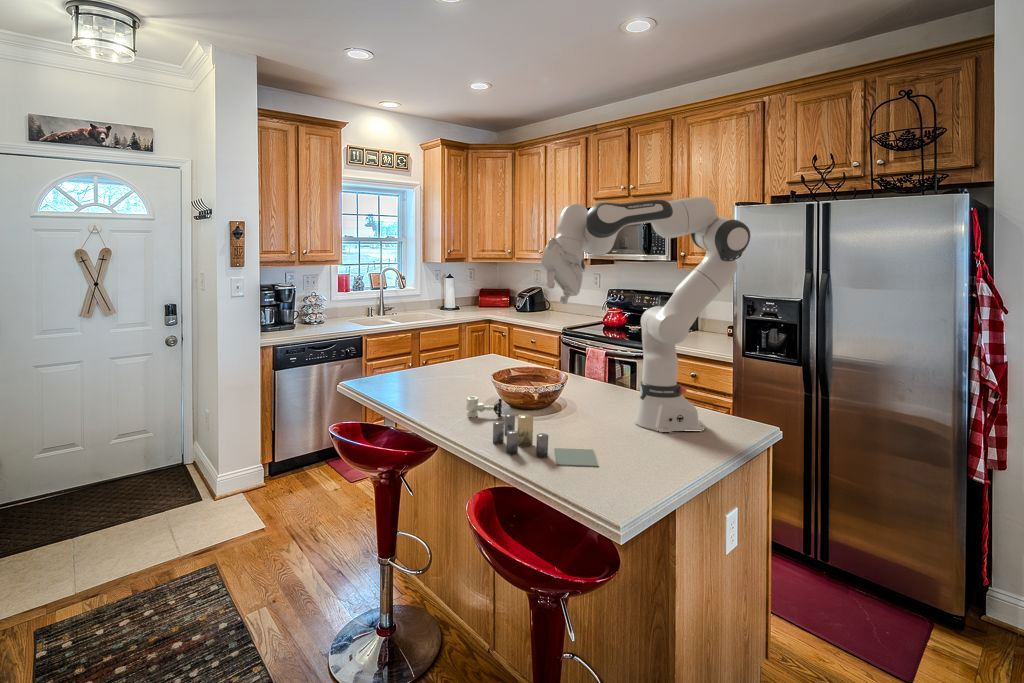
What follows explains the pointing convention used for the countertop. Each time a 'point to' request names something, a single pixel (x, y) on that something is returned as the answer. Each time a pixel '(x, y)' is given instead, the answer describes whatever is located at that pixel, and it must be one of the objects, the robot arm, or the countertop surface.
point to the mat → (575, 457)
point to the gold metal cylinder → (525, 430)
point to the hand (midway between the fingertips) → (556, 295)
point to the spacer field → (516, 437)
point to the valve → (481, 407)
